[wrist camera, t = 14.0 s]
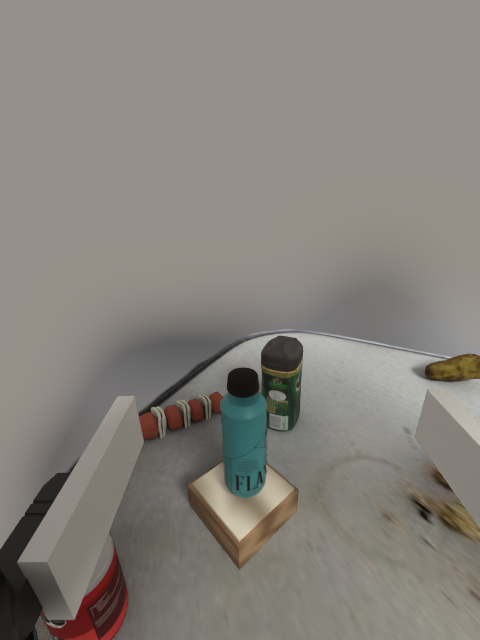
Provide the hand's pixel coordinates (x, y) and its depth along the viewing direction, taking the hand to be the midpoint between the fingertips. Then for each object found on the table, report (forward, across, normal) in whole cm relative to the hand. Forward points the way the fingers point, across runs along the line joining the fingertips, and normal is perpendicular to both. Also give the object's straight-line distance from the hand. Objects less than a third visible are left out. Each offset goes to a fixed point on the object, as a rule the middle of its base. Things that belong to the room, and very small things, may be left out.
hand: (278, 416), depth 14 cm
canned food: (+8, -20, -37) cm, 43 cm away
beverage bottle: (+21, -2, -32) cm, 38 cm away
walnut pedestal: (+21, -3, -37) cm, 42 cm away
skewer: (+41, -16, -37) cm, 57 cm away
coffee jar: (+42, +6, -37) cm, 56 cm away
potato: (+55, +52, -38) cm, 84 cm away
